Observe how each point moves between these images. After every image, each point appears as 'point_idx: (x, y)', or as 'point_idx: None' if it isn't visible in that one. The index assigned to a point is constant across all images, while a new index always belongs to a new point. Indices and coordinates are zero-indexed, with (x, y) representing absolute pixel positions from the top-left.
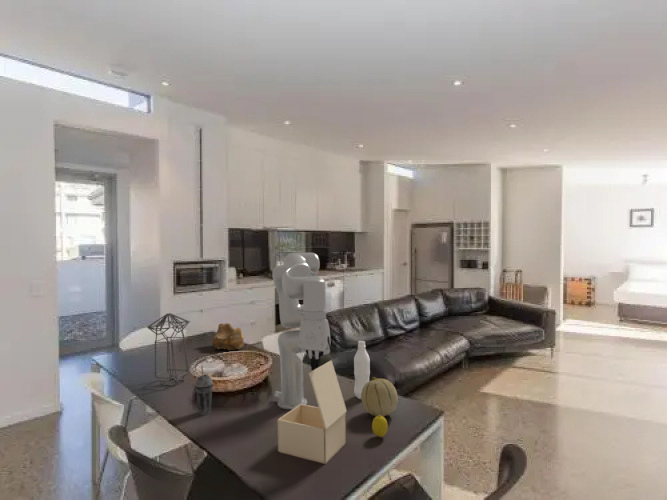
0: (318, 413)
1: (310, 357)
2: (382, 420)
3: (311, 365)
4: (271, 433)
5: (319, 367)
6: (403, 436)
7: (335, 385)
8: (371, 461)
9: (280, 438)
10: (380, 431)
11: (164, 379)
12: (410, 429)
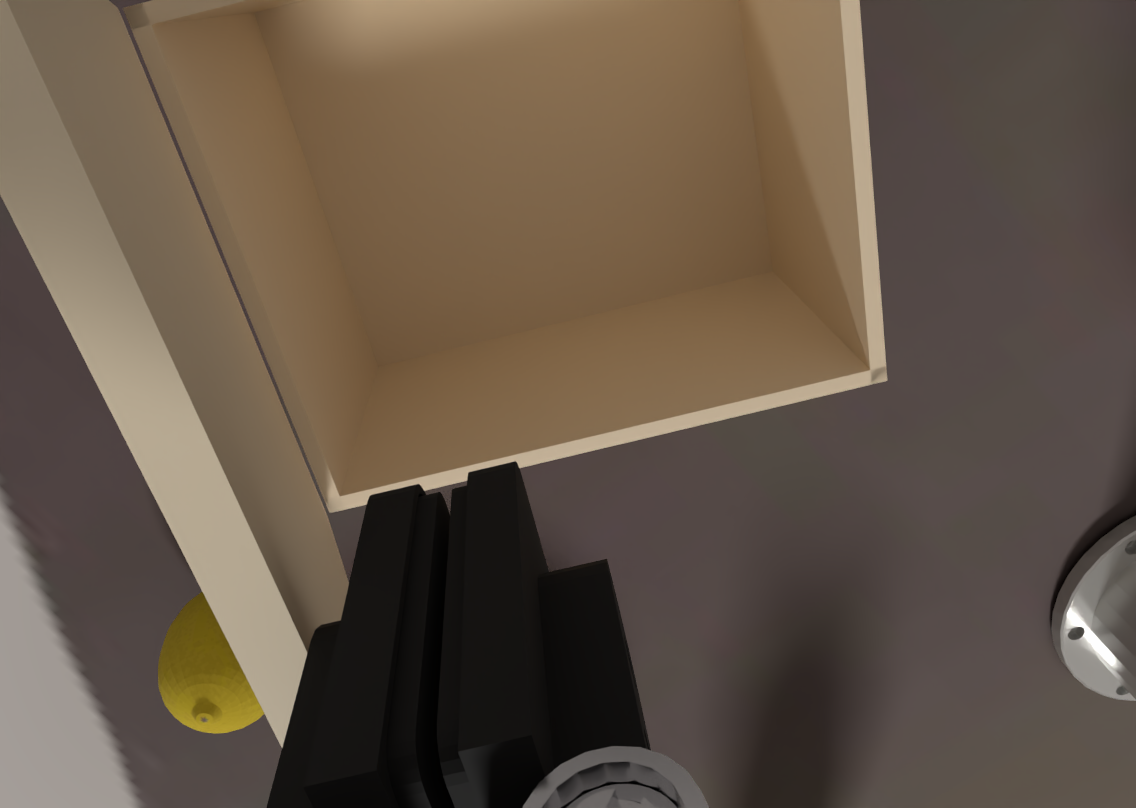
0: (636, 396)
1: (620, 802)
2: (166, 686)
3: (513, 547)
4: (1016, 112)
5: (217, 615)
6: (143, 694)
7: None
8: (9, 285)
9: None
10: (186, 605)
11: None
12: (185, 786)
